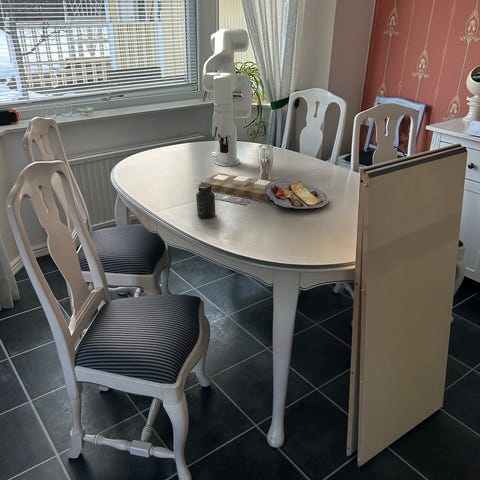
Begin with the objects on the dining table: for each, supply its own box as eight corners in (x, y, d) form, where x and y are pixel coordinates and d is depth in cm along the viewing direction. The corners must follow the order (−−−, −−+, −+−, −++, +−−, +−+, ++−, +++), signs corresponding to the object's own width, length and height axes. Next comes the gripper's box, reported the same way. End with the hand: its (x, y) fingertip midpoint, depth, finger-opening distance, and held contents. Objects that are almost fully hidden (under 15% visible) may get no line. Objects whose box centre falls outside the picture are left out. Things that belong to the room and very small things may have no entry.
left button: (213, 184, 202) (212, 178, 201) (219, 181, 206) (219, 174, 205) (223, 186, 200) (223, 180, 199) (229, 183, 204) (229, 176, 203)
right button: (253, 190, 193) (253, 183, 192) (259, 186, 197) (259, 179, 196) (264, 192, 191) (265, 185, 189) (270, 188, 195) (270, 181, 193)
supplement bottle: (206, 210, 179) (204, 180, 174) (219, 215, 175) (218, 184, 170) (193, 216, 175) (191, 185, 169) (206, 220, 171) (205, 190, 165)
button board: (200, 188, 201) (200, 181, 199) (218, 179, 212) (218, 172, 210) (267, 201, 187) (267, 194, 185) (282, 190, 197) (282, 184, 196)
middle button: (232, 186, 197) (232, 179, 196) (239, 182, 201) (238, 175, 200) (243, 188, 195) (243, 181, 194) (249, 184, 199) (249, 177, 198)
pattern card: (202, 196, 192) (202, 195, 192) (209, 192, 196) (209, 191, 196) (245, 205, 183) (245, 204, 183) (251, 201, 187) (251, 199, 187)
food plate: (257, 188, 193) (258, 180, 191) (308, 184, 200) (309, 177, 199) (281, 216, 173) (282, 207, 171) (336, 211, 180) (338, 203, 179)
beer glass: (272, 182, 207) (272, 149, 200) (256, 181, 208) (257, 148, 202) (274, 177, 213) (275, 144, 207) (259, 176, 215) (259, 144, 208)
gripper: (225, 104, 195) (226, 147, 203) (204, 110, 184) (206, 155, 192) (240, 105, 192) (241, 149, 200) (220, 112, 180) (222, 158, 188)
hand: (224, 152), depth 196 cm, fingers closed
